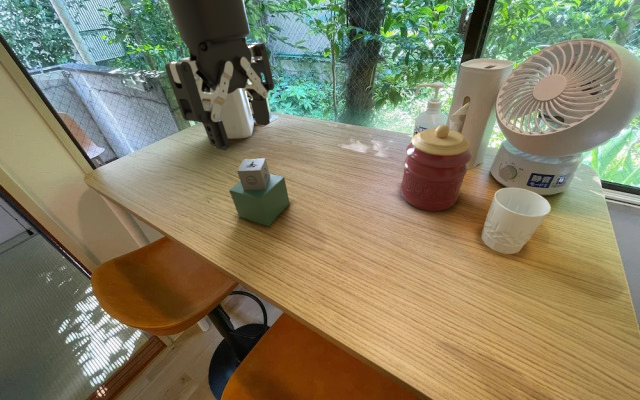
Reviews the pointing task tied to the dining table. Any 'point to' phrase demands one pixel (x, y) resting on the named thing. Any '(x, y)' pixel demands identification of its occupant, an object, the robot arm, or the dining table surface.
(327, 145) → the dining table surface
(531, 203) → the white cup
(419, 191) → the kitchen canister
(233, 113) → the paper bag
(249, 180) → the dice cube
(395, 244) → the dining table surface
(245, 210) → the green block
